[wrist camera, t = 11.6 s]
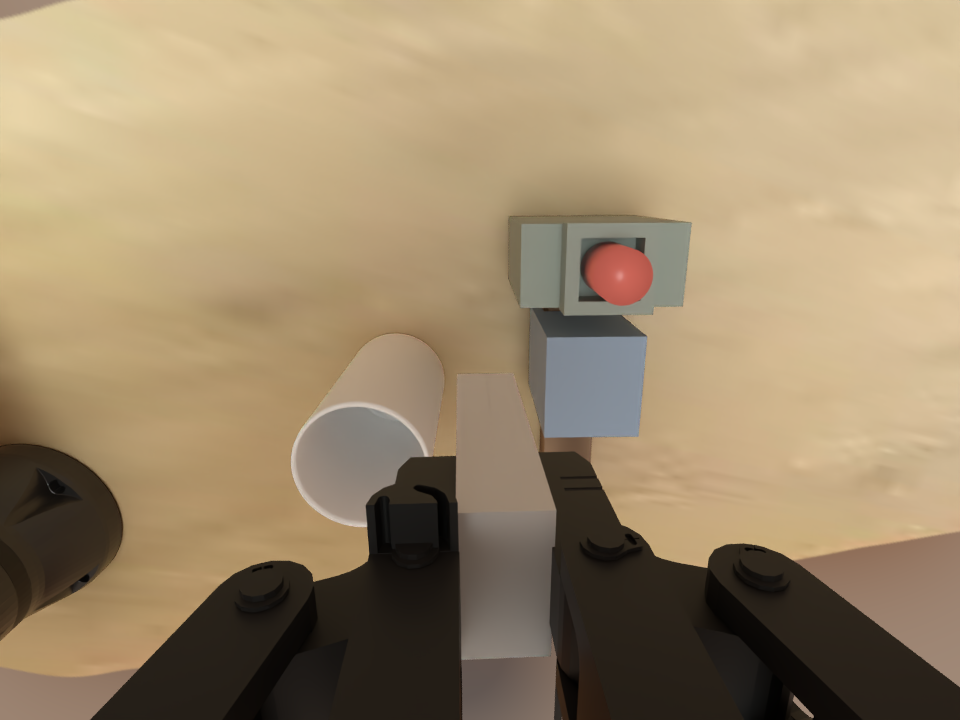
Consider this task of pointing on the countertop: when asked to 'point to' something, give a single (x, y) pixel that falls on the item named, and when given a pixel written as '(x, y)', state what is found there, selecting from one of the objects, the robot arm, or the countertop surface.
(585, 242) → the grey upright block
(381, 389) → the cup
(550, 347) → the block
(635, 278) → the plunger
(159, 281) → the countertop surface
